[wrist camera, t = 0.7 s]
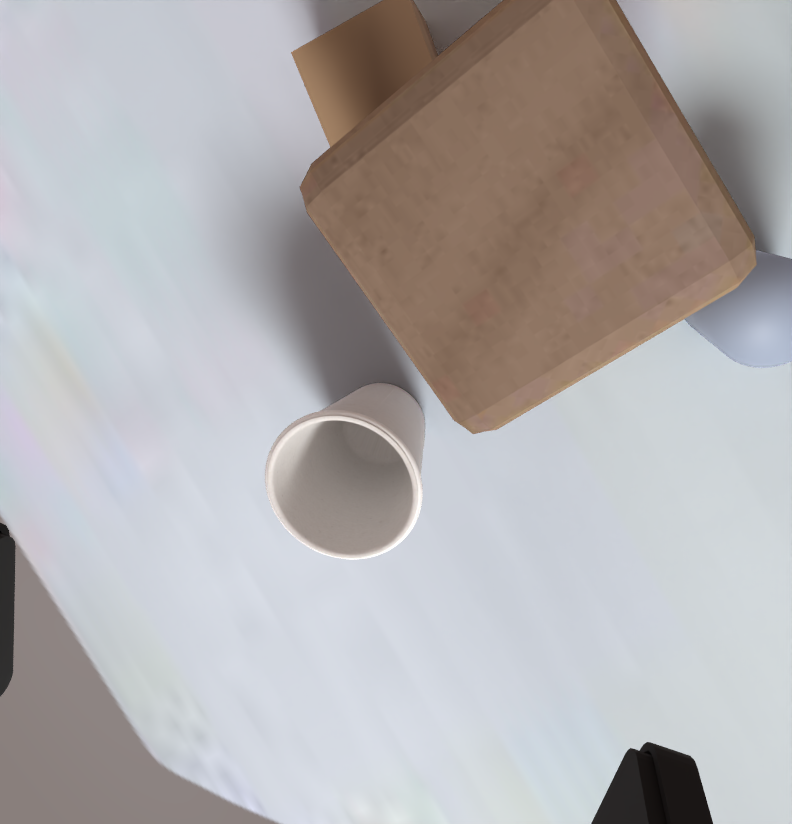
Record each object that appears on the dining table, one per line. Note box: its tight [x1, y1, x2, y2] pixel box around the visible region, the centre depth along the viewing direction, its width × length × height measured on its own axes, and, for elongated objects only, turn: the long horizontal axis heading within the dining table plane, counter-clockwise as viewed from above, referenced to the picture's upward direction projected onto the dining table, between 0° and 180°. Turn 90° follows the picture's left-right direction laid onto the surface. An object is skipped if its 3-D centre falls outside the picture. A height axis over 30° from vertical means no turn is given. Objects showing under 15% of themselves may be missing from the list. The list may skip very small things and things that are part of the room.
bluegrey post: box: [685, 250, 792, 368], centre depth 33 cm, size 5×5×7 cm
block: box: [300, 0, 757, 434], centre depth 27 cm, size 10×10×20 cm
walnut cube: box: [291, 0, 438, 147], centre depth 33 cm, size 6×6×6 cm
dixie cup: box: [265, 383, 425, 559], centre depth 38 cm, size 8×8×10 cm
